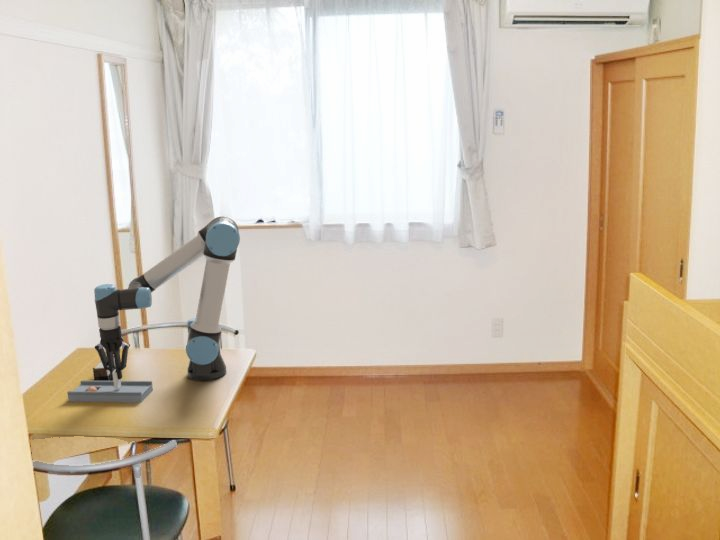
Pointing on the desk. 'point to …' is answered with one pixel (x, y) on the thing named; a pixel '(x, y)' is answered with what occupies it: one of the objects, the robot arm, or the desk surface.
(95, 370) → the camera
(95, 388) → the ball
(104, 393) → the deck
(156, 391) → the desk surface
